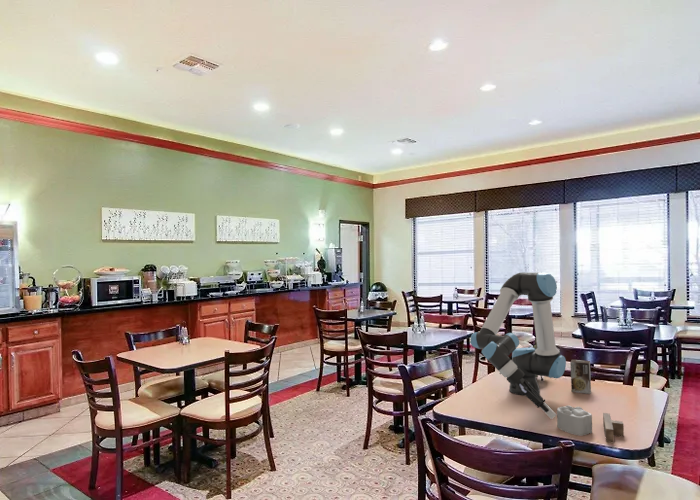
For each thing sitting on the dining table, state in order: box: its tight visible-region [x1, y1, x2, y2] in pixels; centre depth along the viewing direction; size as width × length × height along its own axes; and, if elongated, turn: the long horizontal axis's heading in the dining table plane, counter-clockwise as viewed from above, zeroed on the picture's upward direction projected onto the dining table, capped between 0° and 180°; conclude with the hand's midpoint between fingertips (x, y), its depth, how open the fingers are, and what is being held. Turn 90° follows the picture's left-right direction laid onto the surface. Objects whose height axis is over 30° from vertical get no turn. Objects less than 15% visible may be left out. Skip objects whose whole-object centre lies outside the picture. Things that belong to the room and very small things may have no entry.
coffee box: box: [569, 359, 592, 395], centre depth 238 cm, size 9×6×16 cm
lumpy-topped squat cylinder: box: [556, 404, 593, 437], centre depth 186 cm, size 10×13×9 cm
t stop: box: [602, 412, 625, 443], centre depth 180 cm, size 6×20×5 cm, turn 153°
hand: (553, 416), depth 189 cm, fingers closed
